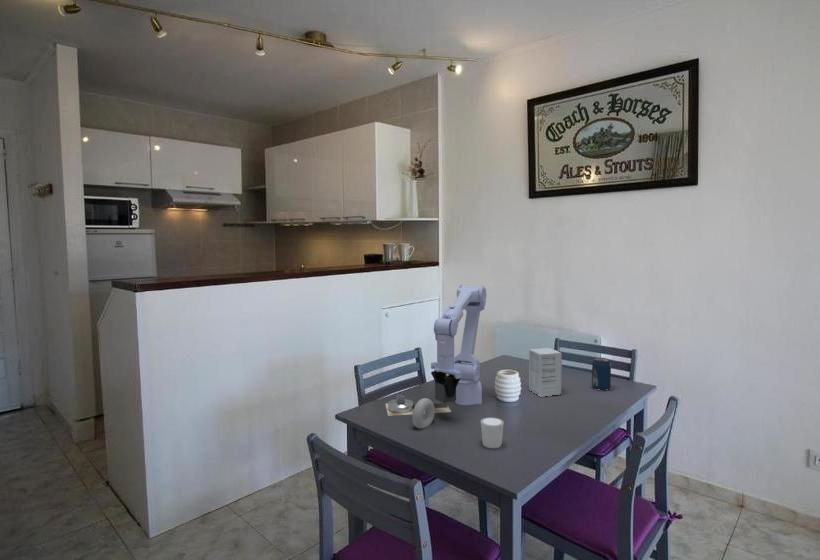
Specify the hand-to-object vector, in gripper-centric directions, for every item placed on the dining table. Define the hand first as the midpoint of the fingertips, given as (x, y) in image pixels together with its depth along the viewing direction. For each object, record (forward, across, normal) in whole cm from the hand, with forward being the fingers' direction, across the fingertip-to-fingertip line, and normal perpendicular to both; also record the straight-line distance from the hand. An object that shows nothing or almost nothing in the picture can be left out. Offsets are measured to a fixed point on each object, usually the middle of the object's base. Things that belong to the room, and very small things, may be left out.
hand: (445, 394), depth 158 cm
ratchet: (+8, -13, -3) cm, 16 cm away
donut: (+10, +1, -10) cm, 13 cm away
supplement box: (+10, -1, +49) cm, 50 cm away
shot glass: (+10, +22, +1) cm, 24 cm away
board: (+9, -13, -3) cm, 16 cm away
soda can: (+10, +8, +71) cm, 72 cm away
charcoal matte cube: (+2, 0, 0) cm, 2 cm away
